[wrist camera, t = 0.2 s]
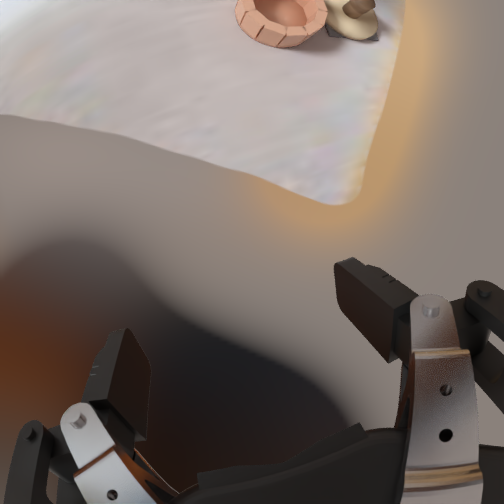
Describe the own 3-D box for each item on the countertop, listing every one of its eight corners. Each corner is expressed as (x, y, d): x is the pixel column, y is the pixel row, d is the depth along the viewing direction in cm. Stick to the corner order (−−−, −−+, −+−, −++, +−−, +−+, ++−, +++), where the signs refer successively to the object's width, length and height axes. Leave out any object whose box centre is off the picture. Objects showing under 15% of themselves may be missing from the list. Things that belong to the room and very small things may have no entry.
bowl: (227, -9, 26) (233, -25, 21) (301, -10, 27) (312, -24, 23) (245, 51, 30) (253, 38, 26) (321, 46, 32) (336, 36, 27)
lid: (309, -13, 27) (325, -30, 21) (362, -5, 28) (381, -18, 22) (328, 38, 31) (348, 24, 25) (381, 42, 32) (403, 33, 26)
